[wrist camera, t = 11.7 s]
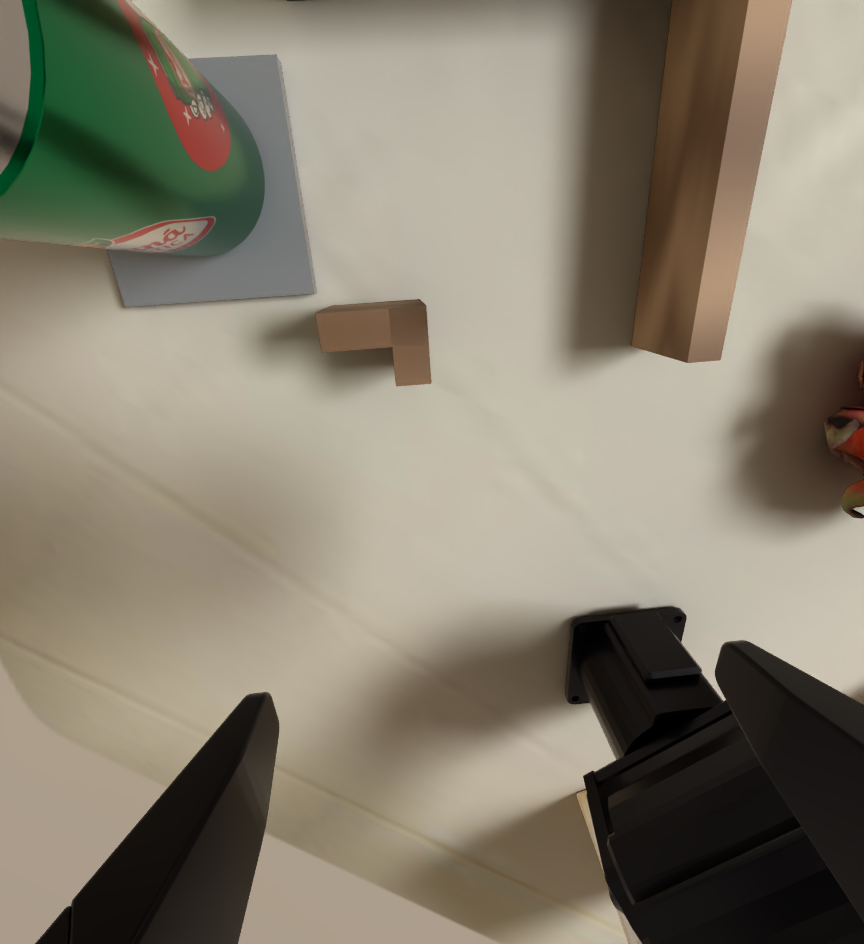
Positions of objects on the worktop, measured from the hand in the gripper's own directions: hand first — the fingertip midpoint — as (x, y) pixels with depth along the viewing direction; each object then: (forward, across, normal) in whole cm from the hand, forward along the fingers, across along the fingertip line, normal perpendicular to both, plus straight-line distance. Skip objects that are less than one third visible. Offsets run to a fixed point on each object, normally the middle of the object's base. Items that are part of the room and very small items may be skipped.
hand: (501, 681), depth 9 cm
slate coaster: (+13, +8, -10) cm, 18 cm away
